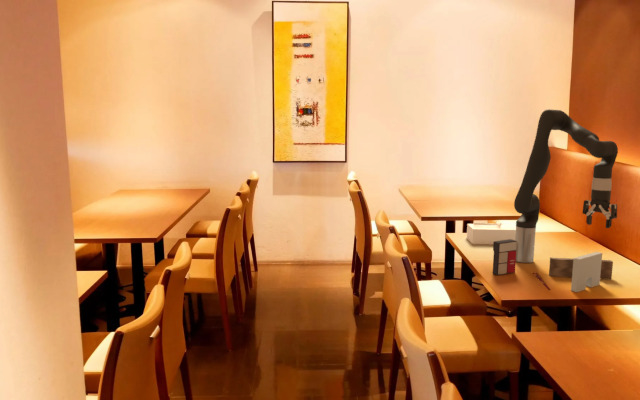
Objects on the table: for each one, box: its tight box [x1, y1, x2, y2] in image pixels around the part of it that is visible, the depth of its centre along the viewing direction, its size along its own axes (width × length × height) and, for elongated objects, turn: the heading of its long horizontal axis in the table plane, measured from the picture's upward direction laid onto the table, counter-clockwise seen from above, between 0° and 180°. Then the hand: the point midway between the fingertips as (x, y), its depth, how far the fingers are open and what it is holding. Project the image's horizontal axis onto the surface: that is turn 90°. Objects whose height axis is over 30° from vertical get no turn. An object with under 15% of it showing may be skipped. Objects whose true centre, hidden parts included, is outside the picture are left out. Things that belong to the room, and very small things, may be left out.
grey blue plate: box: [570, 251, 603, 293], centre depth 248 cm, size 18×2×14 cm, turn 126°
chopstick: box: [532, 272, 551, 291], centre depth 258 cm, size 2×24×1 cm, turn 175°
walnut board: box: [548, 257, 614, 280], centre depth 264 cm, size 26×2×8 cm, turn 81°
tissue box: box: [466, 221, 516, 245], centre depth 331 cm, size 14×25×11 cm, turn 88°
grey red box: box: [492, 239, 517, 276], centre depth 268 cm, size 11×4×15 cm, turn 117°
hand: (598, 226), depth 251 cm, fingers open, 8 cm apart
